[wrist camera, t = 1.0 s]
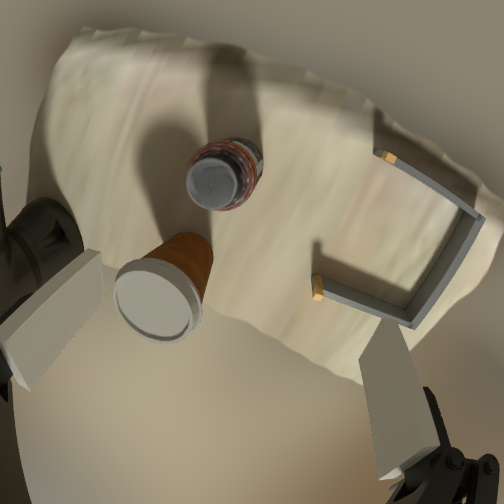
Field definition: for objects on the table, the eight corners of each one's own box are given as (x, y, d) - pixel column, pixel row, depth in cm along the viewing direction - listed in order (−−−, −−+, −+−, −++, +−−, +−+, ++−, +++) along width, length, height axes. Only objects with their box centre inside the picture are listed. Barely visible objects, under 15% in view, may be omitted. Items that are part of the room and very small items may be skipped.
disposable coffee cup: (235, 281, 37) (212, 345, 26) (171, 290, 39) (134, 348, 28) (212, 211, 33) (175, 257, 23) (146, 228, 35) (93, 273, 25)
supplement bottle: (229, 199, 32) (200, 236, 22) (201, 156, 31) (157, 174, 20) (274, 172, 30) (265, 198, 20) (245, 126, 29) (220, 128, 18)
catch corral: (311, 278, 35) (312, 298, 31) (375, 148, 27) (388, 152, 24) (408, 316, 36) (417, 336, 32) (474, 210, 28) (492, 222, 24)
